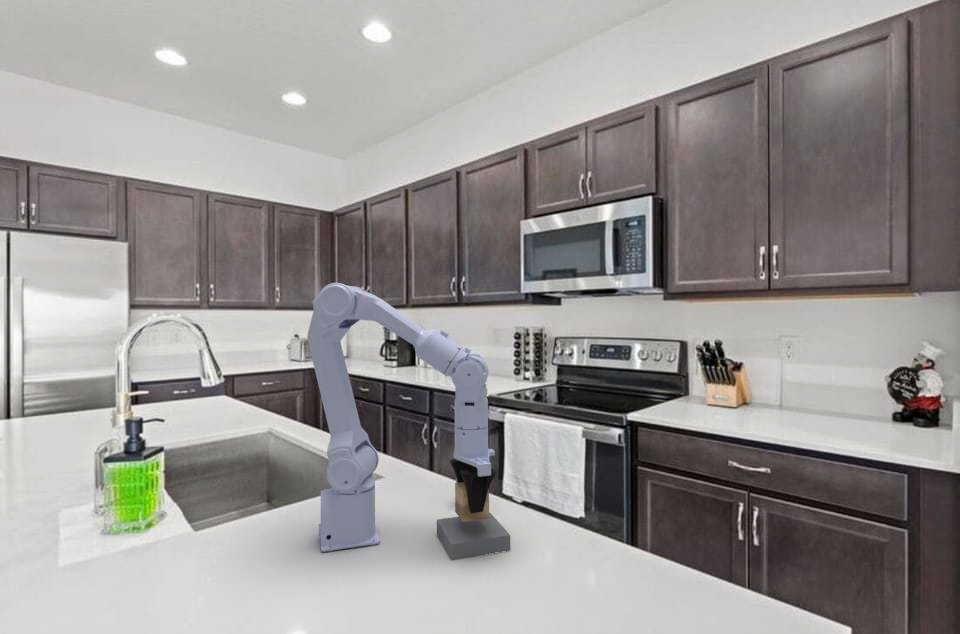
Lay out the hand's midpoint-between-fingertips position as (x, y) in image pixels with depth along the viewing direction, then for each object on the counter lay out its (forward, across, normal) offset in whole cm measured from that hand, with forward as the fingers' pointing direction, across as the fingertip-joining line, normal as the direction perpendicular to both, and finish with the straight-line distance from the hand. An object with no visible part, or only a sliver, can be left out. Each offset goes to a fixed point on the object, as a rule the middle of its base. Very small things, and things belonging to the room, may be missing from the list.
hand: (472, 506), depth 83 cm
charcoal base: (+6, 0, 0) cm, 6 cm away
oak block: (+2, 0, 0) cm, 2 cm away
